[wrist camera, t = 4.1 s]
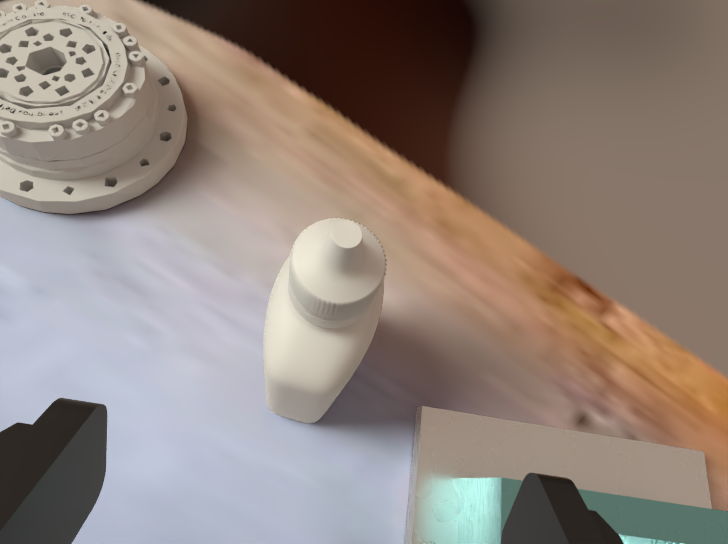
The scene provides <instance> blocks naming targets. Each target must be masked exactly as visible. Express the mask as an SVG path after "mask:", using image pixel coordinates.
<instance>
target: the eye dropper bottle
mask: <svg viewBox="0 0 728 544" xmlns="http://www.w3.org/2000/svg"><path fill="white" fill-rule="evenodd" d="M380 243H381V242H379V241H378V238H376V237H375V235H374V234H372V231H369V230H368V228H365V226H363V225H361V224H360V223H357V222H356V221H352V220H348V219H342V218H335V219H334V218H330V219H326V220H321V221H317V223H313V225H309V227H308V228H305V230H304V231H302V233H301V234H300V235H299V236H298V238H296V242H294V246H293V247H292V251H291V254H290V255H289V257H288V258H287V260H286V261H285V263H284V265H283V267H282V268H281V270H280V272H279V274H278V276H277V279H276V281H275V284H274V286H273V289H272V292H271V296H270V299H269V303H268V307H267V312H266V318H265V327H264V341H263V342H264V375H265V389H266V399H267V404H268V407H269V409H270V410H271V411H272V412H273V413H275V414H277V415H280V416H283V417H286V418H289V419H293V420H296V421H300V422H303V423H314V422H316V421H317V420H319V419H320V418H321V417H322V416H323V415H324V414H325V413H326V411H327V410H328V409H329V407H330V406H331V405H332V403H333V402H334V401H335V399H336V398H337V397H338V395H339V394H340V392H341V391H342V390H343V388H344V387H345V386H346V384H347V383H348V381H349V380H350V378H351V377H352V375H353V374H354V372H355V371H356V369H357V368H358V366H359V364H360V363H361V361H362V359H363V357H364V356H365V354H366V352H367V350H368V348H369V346H370V344H371V341H372V339H373V336H374V334H375V331H376V328H377V325H378V321H379V318H380V314H381V309H382V303H383V294H384V276H385V274H386V273H385V271H386V265H387V264H386V259H385V256H386V255H385V254H384V250H383V249H382V248H383V246H381V245H380Z"/></svg>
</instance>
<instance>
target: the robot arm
mask: <svg viewBox="0 0 728 544" xmlns="http://www.w3.org/2000/svg"><path fill="white" fill-rule="evenodd" d="M106 442H107V409H106V406H105V405H103V404H97V403H91V402H85V401H78V400H72V399H65V398H59V399H57V400H56V401H54V402H53V403H52V404H51V405H50V406H49V407H48V409H47V410H46V411H45V412H44V413H43V414H42V415H41V416H40V417H39V418H38V419H37V420H36V422H35V423H34V424H33V425H30V424H24V423H16V424H14V425H12V426H10V427H9V428H7V429H5V430H3V431H2V432H0V544H71V543H72V542H73V540H74V538H75V537H76V535H77V533H78V532H79V530H80V528H81V527H82V525H83V524H84V522H85V520H86V519H87V517H88V515H89V514H90V512H91V510H92V509H93V507H94V505H95V503H96V501H97V499H98V497H99V494H100V491H101V489H102V485H103V482H104V477H105V472H106ZM501 544H624V543H623V541H622V539H621V537H620V536H619V535H618V534H617V533H616V532H615V530H614V529H613V528H612V527H611V526H610V525H609V524H608V523H607V522H606V521H605V520H604V519H603V518H602V517H601V516H600V515H599V514H598V513H597V512H596V511H593V510H588V508H587V506H586V504H585V502H584V501H583V499H582V497H581V495H580V493H579V491H578V489H577V488H576V486H575V484H574V483H573V482H572V480H570V479H568V478H564V477H558V476H551V475H545V474H538V473H528V474H527V475H526V476H525V478H524V480H523V482H522V484H521V487H520V489H519V491H518V494H517V496H516V499H515V501H514V503H513V506H512V508H511V511H510V513H509V515H508V518H507V520H506V523H505V525H504V528H503V531H502V536H501Z"/></svg>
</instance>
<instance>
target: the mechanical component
mask: <svg viewBox="0 0 728 544" xmlns="http://www.w3.org/2000/svg"><path fill="white" fill-rule="evenodd" d="M12 9H13V11H12V12H10V13H8V14H6V13H5V12H3V11H1V10H0V196H1V197H3V198H5V199H8V200H10V201H12V202H14V203H16V204H18V205H20V206H23V207H27V208H30V209H34V210H38V211H42V212H50V213H64V214H75V213H82V212H90V211H98V210H106V209H109V208H111V207H114V206H116V205H118V204H121V203H123V202H126V201H128V200H130V199H133V198H135V197H137V196H140V195H141V194H143V193H144V192H146V191H147V190H149V189H150V188H152V187H153V186H154V185H156V184H157V183H158V182H159V181H160V180H161V179H162V178H163V177H164V176H165V175H166V174H167V173H168V171H169V170H170V169H171V168H172V167H173V166H174V165H175V163H176V161H177V159H178V156H179V154H180V152H181V150H182V148H183V146H184V144H185V139H186V130H187V121H188V117H187V113H186V109H185V105H184V101H183V97H182V93H181V90H180V88H179V86H178V84H177V82H176V79H175V77H174V75H173V74H172V73H171V72H170V71H169V69H168V68H167V67H166V66H165V65H164V64H163V62H162V61H161V60H159V59H158V58H157V57H155V56H154V55H152V54H151V53H150V52H148V51H147V50H146V49H144V48H143V47H141V46H139V45H138V42H137V40H136V38H135V37H132V36H131V35H130V34H129V33H128V31H127V28H126V26H125V25H124V24H122V23H116V22H114V21H112V20H110V19H109V18H107V17H105V16H103V15H101V14H99V13H95V12H94V11H93V9H92V7H91V6H90V5H81V6H80V7H79V8H76V7H68V6H50V5H49V3H48V1H45V0H38V1H36V2H35V7H32V8H27V6H26V5H25V4H24V3H21V4H14V5H13V7H12Z"/></svg>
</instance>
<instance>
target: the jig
mask: <svg viewBox="0 0 728 544" xmlns="http://www.w3.org/2000/svg"><path fill="white" fill-rule="evenodd" d="M528 473H538V474H545V475H551V476H558V477H564V478H568V479H570V480H572V482H573V483H574V484H575V486H576V488H577V489H578V491H579V493H580V495H581V497H582V499H583V501H584V502H585V504H586V506H587V508H588V510H593V511H596V512H597V513H598V514H599V515H600V516H601V517H602V518H603V519H604V520H605V521H606V522H607V523H608V524H609V525H610V526H611V527H612V528H613V529H614V530H615V532H616V533H617V534H618V535H619V536H620V537H621V539H622V541H623V543H624V544H728V511H722V510H715V509H712V506H711V499H710V491H709V484H708V477H707V470H706V463H705V456H704V452H703V451H697V450H691V449H685V448H678V447H672V446H666V445H660V444H654V443H648V442H641V441H635V440H629V439H623V438H617V437H611V436H605V435H598V434H592V433H586V432H580V431H574V430H568V429H561V428H555V427H549V426H543V425H537V424H531V423H525V422H518V421H512V420H506V419H500V418H494V417H488V416H481V415H475V414H469V413H463V412H457V411H451V410H445V409H438V408H432V407H426V406H421V407H419V408H417V409H416V417H415V429H414V441H413V453H412V465H411V476H410V488H409V500H408V512H407V524H406V535H405V544H501V536H502V531H503V528H504V525H505V523H506V520H507V518H508V515H509V513H510V511H511V508H512V506H513V503H514V501H515V499H516V496H517V494H518V491H519V489H520V487H521V484H522V482H523V480H524V478H525V476H526V475H527V474H528Z"/></svg>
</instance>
